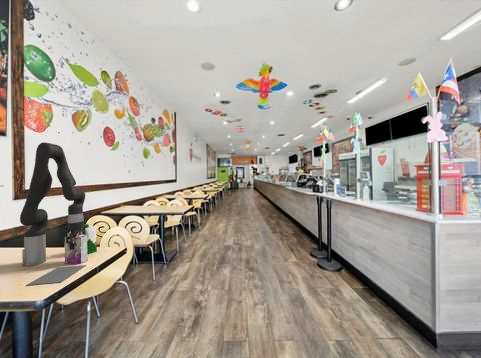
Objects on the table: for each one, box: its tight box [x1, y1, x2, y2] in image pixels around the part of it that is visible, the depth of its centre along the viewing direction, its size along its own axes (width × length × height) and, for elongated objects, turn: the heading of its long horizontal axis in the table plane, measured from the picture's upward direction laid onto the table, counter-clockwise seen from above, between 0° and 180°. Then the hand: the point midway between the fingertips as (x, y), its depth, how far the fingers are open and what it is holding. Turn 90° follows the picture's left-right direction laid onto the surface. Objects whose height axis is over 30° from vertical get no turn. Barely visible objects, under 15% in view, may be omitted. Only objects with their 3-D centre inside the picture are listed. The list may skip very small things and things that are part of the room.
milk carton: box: [83, 223, 98, 255], centre depth 139 cm, size 9×9×20 cm
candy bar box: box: [64, 235, 89, 265], centre depth 122 cm, size 11×5×16 cm, turn 84°
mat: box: [25, 264, 87, 287], centre depth 105 cm, size 15×20×1 cm
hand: (76, 247), depth 122 cm, fingers open, 8 cm apart
